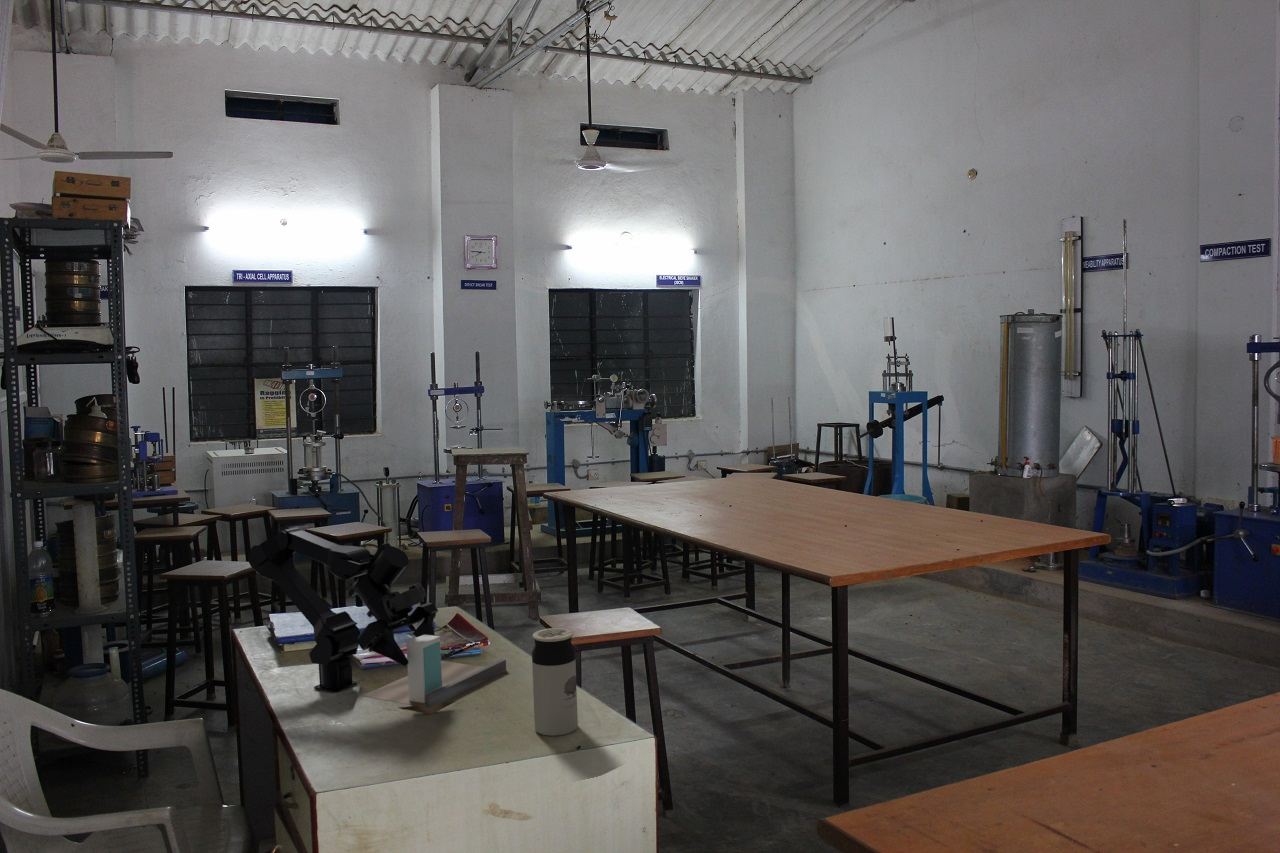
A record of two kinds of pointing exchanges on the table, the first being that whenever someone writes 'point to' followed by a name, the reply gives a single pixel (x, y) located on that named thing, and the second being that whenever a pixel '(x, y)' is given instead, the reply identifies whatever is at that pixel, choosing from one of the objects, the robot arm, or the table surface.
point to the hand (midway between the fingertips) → (422, 657)
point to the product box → (423, 666)
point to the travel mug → (554, 682)
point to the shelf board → (453, 683)
